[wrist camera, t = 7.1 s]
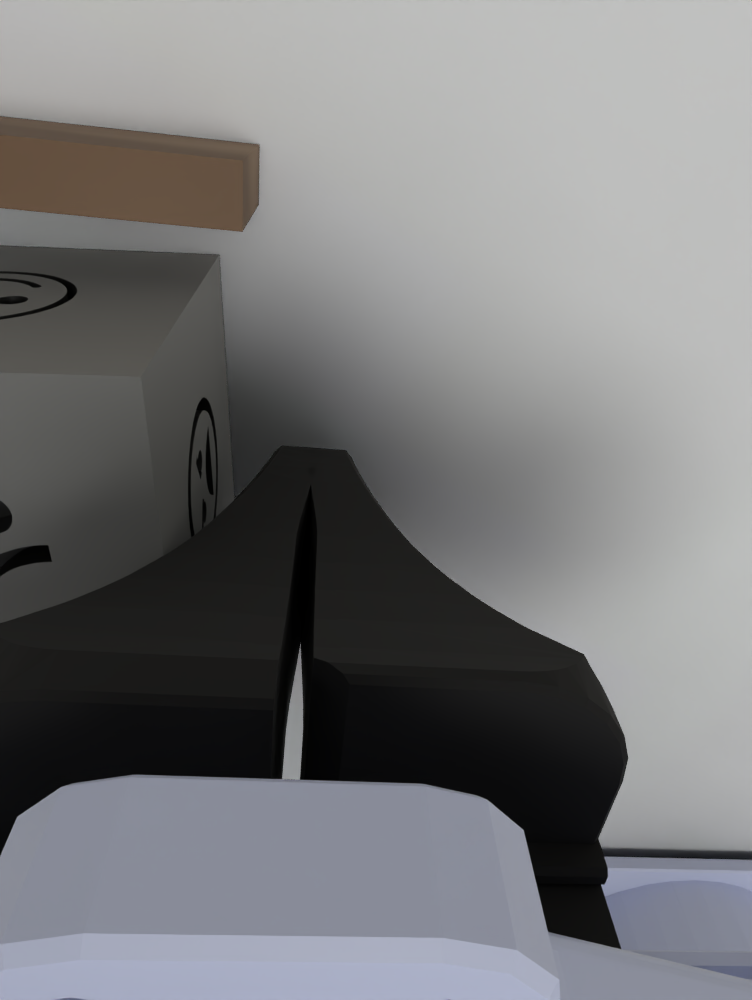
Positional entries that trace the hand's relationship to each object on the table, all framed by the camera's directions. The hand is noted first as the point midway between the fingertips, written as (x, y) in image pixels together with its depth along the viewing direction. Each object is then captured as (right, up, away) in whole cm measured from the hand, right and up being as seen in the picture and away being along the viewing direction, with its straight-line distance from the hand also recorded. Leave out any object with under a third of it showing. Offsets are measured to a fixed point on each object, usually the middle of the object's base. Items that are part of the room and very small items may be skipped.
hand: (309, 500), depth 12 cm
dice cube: (-4, +2, 0) cm, 4 cm away
